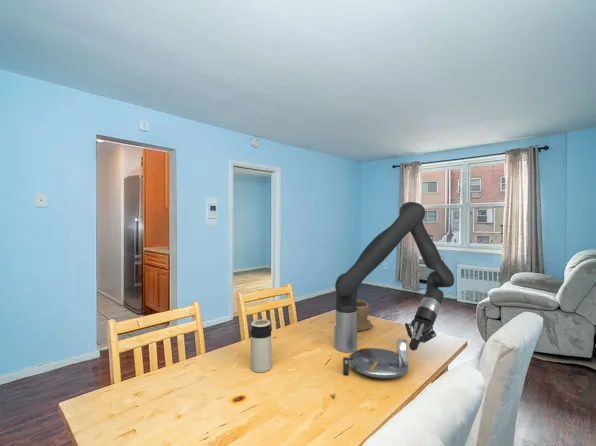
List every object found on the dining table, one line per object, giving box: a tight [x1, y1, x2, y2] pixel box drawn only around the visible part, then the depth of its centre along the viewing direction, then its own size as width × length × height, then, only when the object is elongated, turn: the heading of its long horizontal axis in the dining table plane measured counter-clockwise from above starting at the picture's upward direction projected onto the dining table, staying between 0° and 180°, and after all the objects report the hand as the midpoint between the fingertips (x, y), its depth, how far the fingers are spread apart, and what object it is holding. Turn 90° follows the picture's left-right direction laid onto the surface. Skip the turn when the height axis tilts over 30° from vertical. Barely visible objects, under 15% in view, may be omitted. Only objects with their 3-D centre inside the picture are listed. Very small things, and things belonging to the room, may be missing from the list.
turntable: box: [348, 338, 409, 379], centre depth 122 cm, size 22×22×10 cm
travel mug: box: [250, 319, 273, 373], centre depth 124 cm, size 8×8×18 cm
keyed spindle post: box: [342, 356, 353, 377], centre depth 120 cm, size 13×19×6 cm, turn 131°
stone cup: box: [357, 299, 374, 332], centre depth 166 cm, size 15×12×15 cm
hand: (412, 349), depth 122 cm, fingers closed
